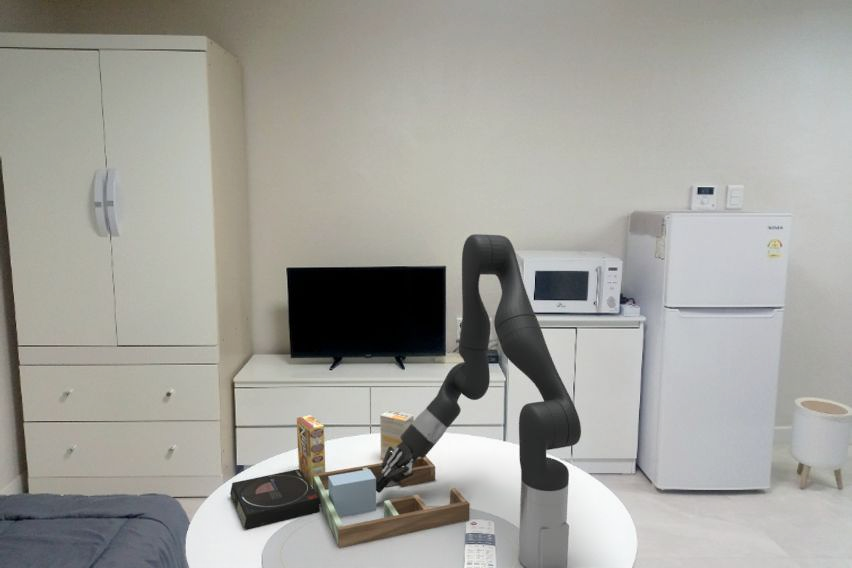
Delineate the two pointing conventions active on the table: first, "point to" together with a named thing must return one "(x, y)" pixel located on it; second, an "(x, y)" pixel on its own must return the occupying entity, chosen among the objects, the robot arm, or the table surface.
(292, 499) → the portable cd player
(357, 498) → the brick
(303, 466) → the candy box
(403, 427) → the supplement box
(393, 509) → the frame
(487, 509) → the table surface
